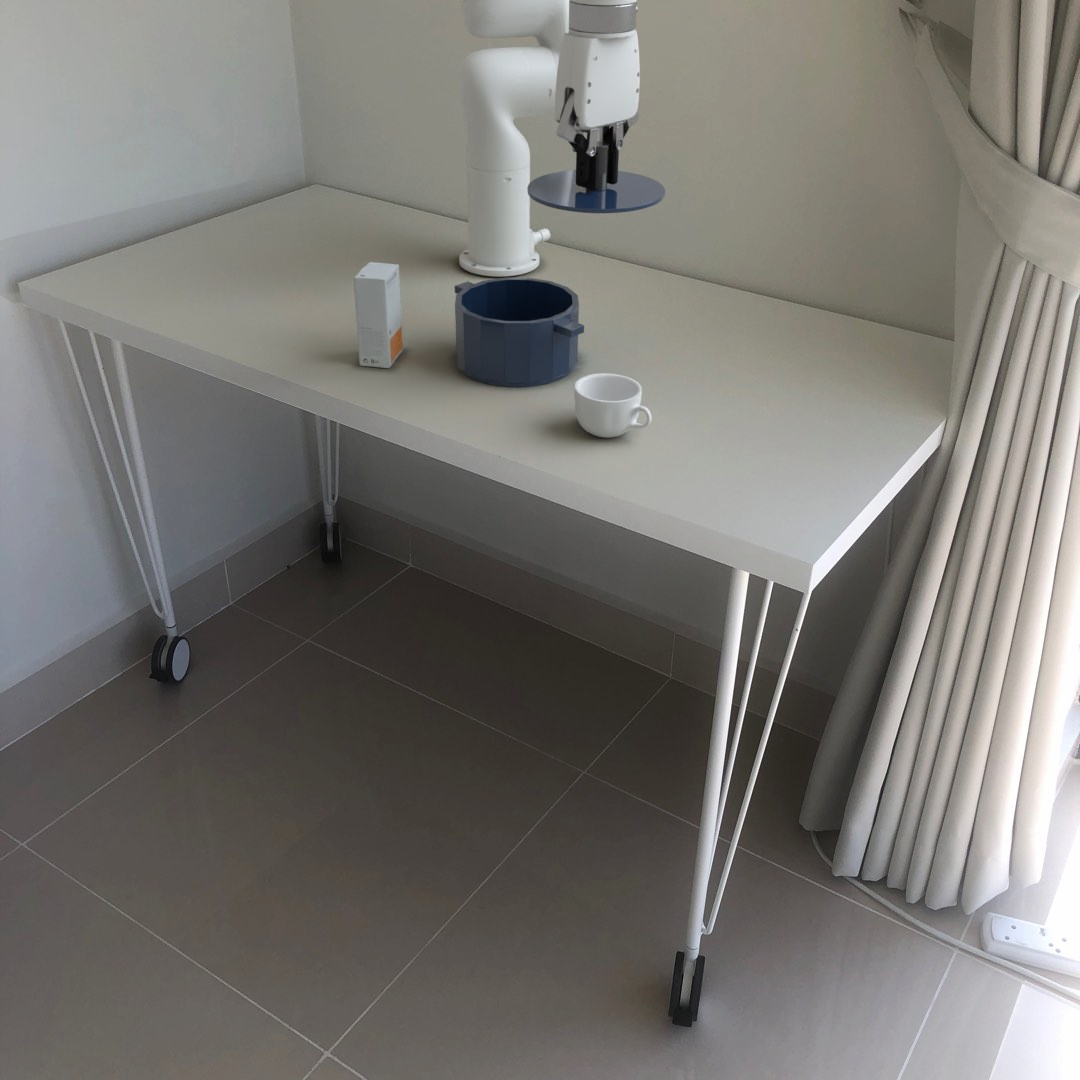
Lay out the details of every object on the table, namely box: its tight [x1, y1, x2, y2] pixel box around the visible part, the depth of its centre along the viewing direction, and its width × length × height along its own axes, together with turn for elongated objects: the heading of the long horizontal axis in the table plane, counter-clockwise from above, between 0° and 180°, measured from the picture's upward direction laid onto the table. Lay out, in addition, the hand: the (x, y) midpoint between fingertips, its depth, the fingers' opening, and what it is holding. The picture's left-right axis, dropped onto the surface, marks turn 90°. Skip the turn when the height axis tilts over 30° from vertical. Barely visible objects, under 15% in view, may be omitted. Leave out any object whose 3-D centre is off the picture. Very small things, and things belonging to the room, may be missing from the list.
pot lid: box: [527, 140, 666, 214], centre depth 139 cm, size 17×17×6 cm
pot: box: [454, 277, 585, 388], centre depth 150 cm, size 16×21×8 cm
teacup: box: [573, 372, 653, 439], centre depth 135 cm, size 10×8×5 cm
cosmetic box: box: [353, 261, 404, 369], centre depth 150 cm, size 6×4×12 cm
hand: (596, 183), depth 140 cm, fingers closed on pot lid, 2 cm apart
